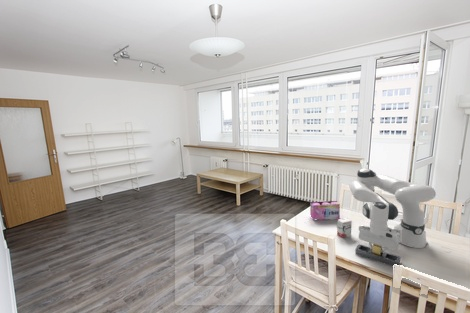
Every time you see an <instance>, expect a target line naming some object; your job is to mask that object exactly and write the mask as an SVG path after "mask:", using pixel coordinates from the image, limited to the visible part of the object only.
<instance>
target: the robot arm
mask: <svg viewBox="0 0 470 313" xmlns="http://www.w3.org/2000/svg"><path fill="white" fill-rule="evenodd" d="M356 174H357V175H356V176H357V180H353V181H351V182H350V183H349V191H350V193H351V195H352V197H353V198H354V199H355V200H356V201H358V202H363V203H365V204H363V206H362V214H363V216H364V217H366V218H367V219H369V220H370V221H369V226H366V225H359V226H358V232H359V233H358V239H359V240H360V241H364V242H367V243H368V245H369V247H370V249H371V250H373V244H376V245H379V246H382V249H381V253H384V252H385V251H386V250H387V249H389V250H393V251H397V250H398V249H399V248H400V247H399V246H400V245H401V244H402V245H404V246H407V247H411V248H415V249H424V248H425V247H426V246H427V245H428V241H427V234H426V231H425V228H426V226H425V215H426V214H425V212H424V210H422V209H421V208H420V204H421V203H426V202H430V201H431V200H434V199H435V197H436V195H437V194H436V190H435V189H434V187H432V186H430V185H427V184H421V183H420V184H419V183H415V182H410V181H404V180H401V179H397V178H394V177H392V176H388V175H383V174H377V173H376V171H373V170H372V169H370V168H367V167H365V168H360V169H358V170H357V173H356ZM375 187H377V188H378V189H380V190H382V191H383V192H387V193H389V194H391V195H394V198H395V200H396V201H397V203H399V204H400V205H401V208H402V218H401V219H400V223H399V224H396V225H395V226H394V228H393V229H392V228H391V227H389V225H388V221H390V220H391V221H394V220H395V219H396V218H397V217H398V216H399V209H398V207H397V206H396V205H395V204H394V203H393V202H390V201H388V200H387V199H386V198H385V197H383V196H382V195H380V194H379V193H377V192H375ZM399 244H400V245H399Z"/></svg>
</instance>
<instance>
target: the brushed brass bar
mask: <svg viewBox="0 0 470 313" xmlns="http://www.w3.org/2000/svg"><path fill="white" fill-rule="evenodd" d="M372 246H373V253H372V254H375V255H378V256H381V254H382V253H381V249H383V246H379V245H376V244H373V243H372Z"/></svg>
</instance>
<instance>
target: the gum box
mask: <svg viewBox="0 0 470 313" xmlns="http://www.w3.org/2000/svg"><path fill="white" fill-rule="evenodd" d="M309 206H310V208H309V209H310V210H309V211H310V215H311V217H312V218H313V219H330V220H339V219H341V218H340V215H341V214H340V212H341V209H340V208H341V206H340V203H339V202H338V201H337V200H329V201H327V200H326V201H311V202H310V205H309ZM311 217H310V218H311ZM312 218H311V219H312ZM313 219H312V220H313Z"/></svg>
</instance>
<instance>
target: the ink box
mask: <svg viewBox="0 0 470 313" xmlns="http://www.w3.org/2000/svg"><path fill="white" fill-rule="evenodd" d="M352 222H353V221H352V220H351V219H349V218H347V217H345V218H340V219H337V225H336V227H337V229H336V230H337V232H336V233H337V234H336V235H337V236H338V237H340V238H346V237H351V236H352V224H353V223H352Z"/></svg>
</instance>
